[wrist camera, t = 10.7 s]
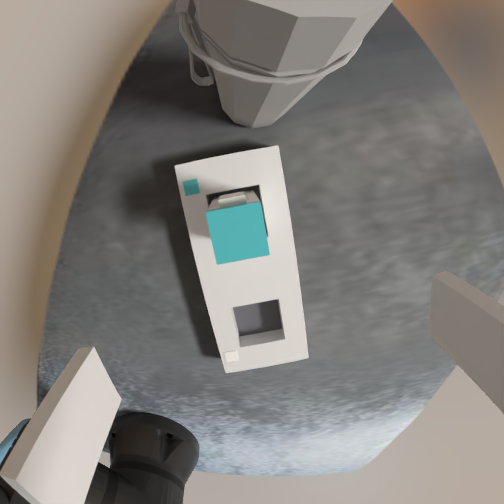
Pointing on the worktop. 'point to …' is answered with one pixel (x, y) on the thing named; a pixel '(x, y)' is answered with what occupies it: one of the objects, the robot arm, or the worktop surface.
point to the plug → (237, 227)
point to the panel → (247, 262)
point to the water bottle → (272, 48)
